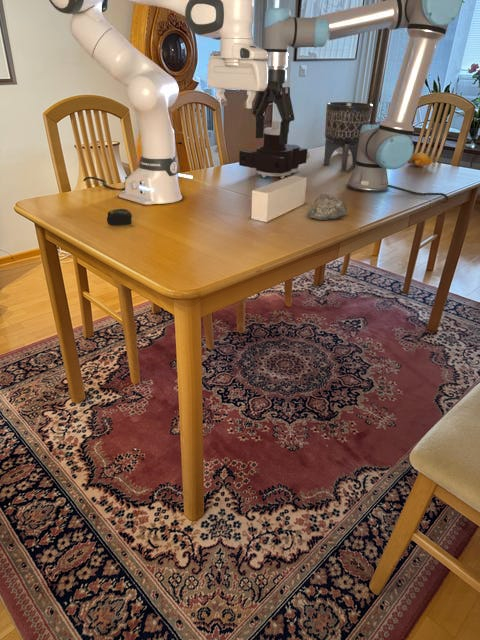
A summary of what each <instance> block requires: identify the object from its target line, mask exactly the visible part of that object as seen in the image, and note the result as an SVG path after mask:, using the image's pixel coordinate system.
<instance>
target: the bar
mask: <svg viewBox="0 0 480 640" xmlns="http://www.w3.org/2000/svg"><path fill="white" fill-rule="evenodd" d="M307 179H308V178H307V177H304V176H297V175H289V176H287V177H284V178H281V179H280V180H277V181H273V182H270V183H269V184H266V185H264V186H260V187H257V188H255V189H253V190H252V191H251V214H250V215H251V216H250V217H251V220H255V221H261V222H263V223H264V222H265V223H267V222H270V221H272V220H274V219H276V218H278V217H280V216H282V215H285V214H286V213H288V212H291V211H292V210H295V209H297V208H299V207H301V206H303V205H304V204H305V202H306V193H307V191H306V190H307Z"/></svg>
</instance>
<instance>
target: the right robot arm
mask: <svg viewBox="0 0 480 640" xmlns="http://www.w3.org/2000/svg"><path fill="white" fill-rule="evenodd" d="M462 6H463V0H381V1H378V2H372V3H368V4H364V5H360V6H357V7H356V6H355V7H351V8H347V9H343V10H338V11H334V12H330V13H325V14H321V15H316V16H311V17H296V16H292V15H291V10H290V8H286V7H285V8H284V7H270V8H268V9H266V11H265V14H264V24H263V49H264V50H266V51H267V59H266V60H264V61H265V62H266V63H267V67H268V83H267V87H266V89H265V90H264V91H257V93H256V96H255V101H254V104H253V106H252V110H251V114H252V115H254V118H255V139H264V129H265V112H266V111H267V109H268V107H269V105H270V103H274V104H275V105H276V108H277V111H278V114H279V116H280V118H281V119H280V120H281V121H279V122H280V123H279V128H280V139H279V144H280V145H281V144H288V139H289V132H290V124H291V122H293V121H295V119H296V118H295V114H294V108H293V103H292V99H291V87H290V86H284V84H285V83H286V82H287V69H286V68H287V67H288V60H289V59H288V56H289V53H288V52H289V47H291V48H293V49H298V48H299V49H300V48H315V49H316V48H324V47H325V46H327V43H328V42H329V41H334V40H338V39H342V38H346V37H351V36H356V35H360V34H361V35H362V34H365V33H369V32H373V31H379V30H384V29H388V30H389V31H394V30H399V29H400V30H401V29H406V33H407V34H408V36H409V39H408V43H407V45H406V48H405V53H404V55H403V60H402V62H401V66H400V70H399V74H398V77H397V80H396V83H395V86H394V89H393V94H392V97H391V101H390V104H389V107H388V111H387V114H386V117H385V119H384V120H383V121H382V122H380V123H379V124H369V125H363V126H362V127H361V131H360V134H359V143H358V151H357V158H356V165H355V166H354V167H353V171H351V174H350V176H349V179H348V180H347V181H348V182H347V187H348V188H349V189H351V190H354V191H358V192H363V193H364V192H365V193H382V192H386V191H388V189H389V188H391V189H393V190H398V191H401V192H405V193H408V194H412V195H416V196H441V197H444V198H445V199H446V200H450V197H449V196H448V194H446V193H444V192H417V191H415V190H414V191H413V190H410V189H406V188H402V187H399V186H396V185H391V184H389V178H388V173H387V172H388V171H387V170H391V171H392V170H398V169H400V168H402V167H404V166H405V165H406V164H408V161H409V160H410V158H411V157H412V154H414V149H415V146H414V142H413V140H412V138H413V135H414V133H415V129H414V127H413V120H414V117H415V114H416V111H417V108H418V105H419V101H420V98H421V95H422V93H423V89H424V85H425V82H426V79H427V76H428V73H429V70H430V67H431V64H432V60H433V59H434V58H433V57H434V54H435V52H436V48H437V45H438V42H439V41H441V40H442V39H443V38H445V36H446V32H447V30H448V27H449V25H450V24H451V23H453V22H454V21H455V20H456V19H457V17H458V16H459V13H460V12H461V9H462Z"/></svg>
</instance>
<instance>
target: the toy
mask: <svg viewBox="0 0 480 640" xmlns="http://www.w3.org/2000/svg"><path fill="white" fill-rule="evenodd" d="M433 163H434V159H433V158H432V157H429V156H428V154H427V153H424V152H422V151H421V152H416V153H413V154H412V157H411V158H410V160H409V161H408V162H407V164H412V165H415V166H417V167H422V168H423V167H426V166H430V165H432V164H433Z"/></svg>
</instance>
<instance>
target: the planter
mask: <svg viewBox="0 0 480 640" xmlns="http://www.w3.org/2000/svg"><path fill="white" fill-rule="evenodd" d="M373 107H374V106H373V104H372V103H367V102H353V101H333V102H327V103H326V109H325V124H324V125H325V126H324V139H325V144H324V156H323V157H324V158H323V165H325V166H328V165H330V163H331V158H332V156H333V154H334V153H335V152H336V149H338V148H340V147H342V153H341V166H340V170H341V172H345V171H347V167H348V166H347V165H348V159H349V154H348V152H349V150H350V151H351V152H350V154H351V157H352V158H351V159H352V160H351V161H352V166H353V167H355V165H356V158H357V151H358V143H359V134H360V131H361V127H362V126H363V125H370V121H371V116H372V112H373Z"/></svg>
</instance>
